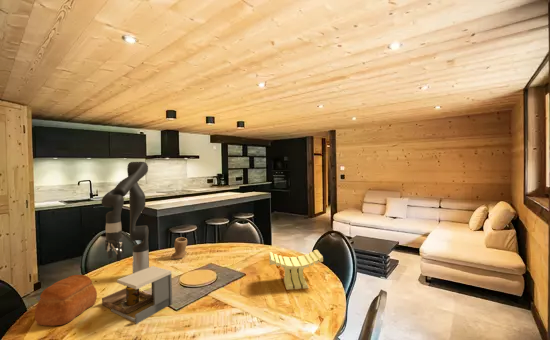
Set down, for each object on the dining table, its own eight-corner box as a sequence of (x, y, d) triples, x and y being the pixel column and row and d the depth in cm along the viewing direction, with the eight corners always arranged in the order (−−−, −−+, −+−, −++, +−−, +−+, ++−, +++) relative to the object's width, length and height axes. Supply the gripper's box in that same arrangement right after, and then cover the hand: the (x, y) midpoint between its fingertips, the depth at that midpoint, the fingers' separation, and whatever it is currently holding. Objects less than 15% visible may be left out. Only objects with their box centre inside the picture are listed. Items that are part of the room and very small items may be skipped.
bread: (30, 327, 118) (28, 290, 118) (69, 302, 140) (68, 271, 139) (67, 327, 117) (65, 290, 117) (101, 302, 139) (100, 271, 138)
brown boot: (185, 259, 200) (184, 240, 200) (169, 260, 200) (168, 240, 199) (190, 253, 215) (190, 235, 215) (176, 253, 215) (175, 235, 214)
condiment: (140, 304, 136) (140, 281, 136) (122, 309, 131) (121, 285, 131) (139, 298, 142) (138, 276, 142) (121, 303, 137) (120, 280, 137)
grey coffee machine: (109, 311, 129) (108, 276, 129) (145, 294, 146) (144, 263, 146) (137, 324, 119) (136, 286, 118) (172, 304, 135) (171, 270, 135)
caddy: (102, 304, 135) (102, 298, 135) (131, 291, 149) (131, 285, 149) (125, 314, 126) (124, 307, 126) (154, 299, 140) (154, 293, 140)
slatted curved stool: (316, 275, 167) (315, 248, 167) (323, 287, 151) (322, 256, 151) (269, 278, 164) (269, 250, 164) (272, 290, 148) (271, 259, 148)
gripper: (99, 230, 145) (100, 259, 145) (113, 233, 138) (114, 263, 138) (113, 227, 151) (114, 255, 152) (127, 230, 144) (128, 259, 145)
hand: (114, 259), depth 145 cm, fingers open, 8 cm apart
